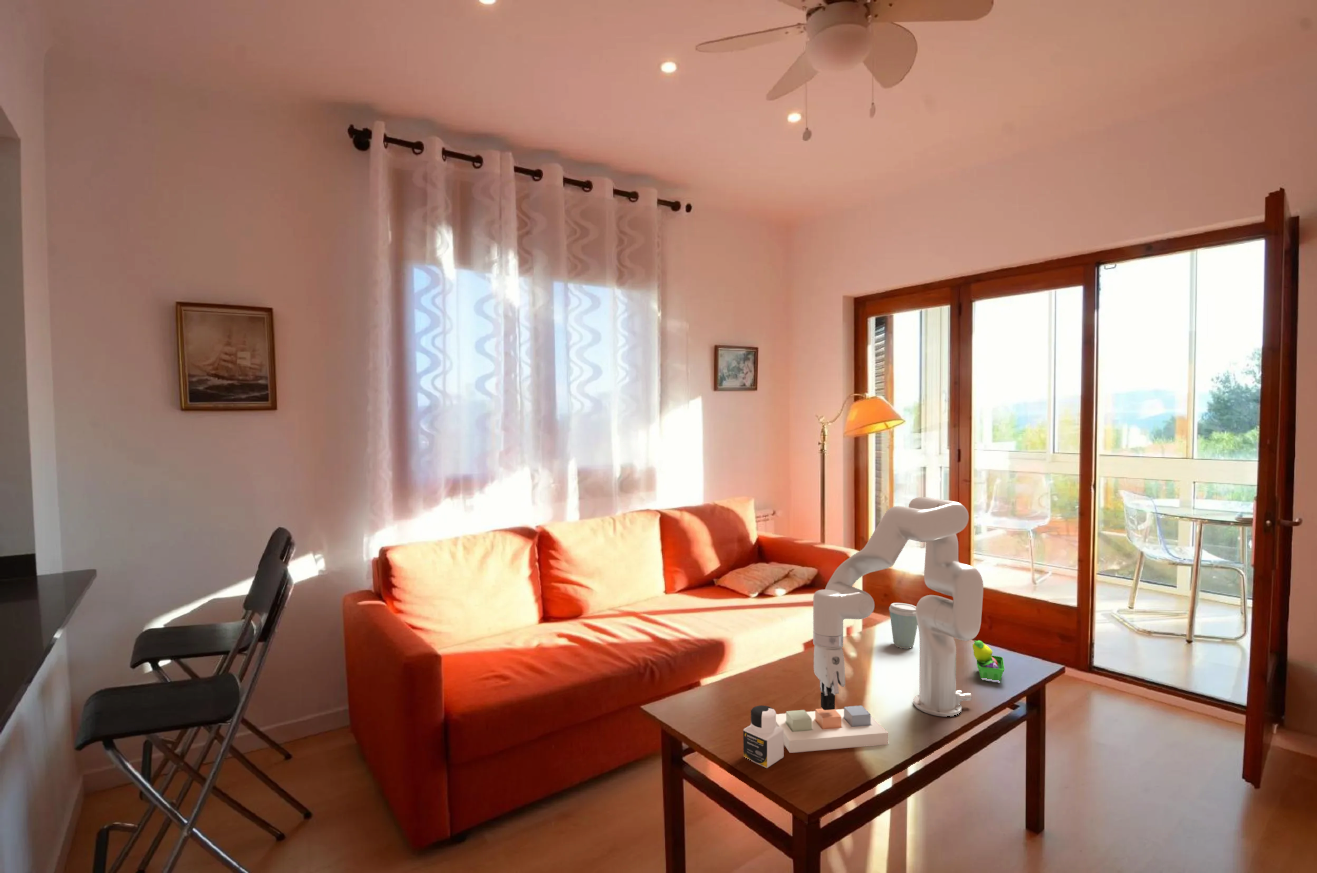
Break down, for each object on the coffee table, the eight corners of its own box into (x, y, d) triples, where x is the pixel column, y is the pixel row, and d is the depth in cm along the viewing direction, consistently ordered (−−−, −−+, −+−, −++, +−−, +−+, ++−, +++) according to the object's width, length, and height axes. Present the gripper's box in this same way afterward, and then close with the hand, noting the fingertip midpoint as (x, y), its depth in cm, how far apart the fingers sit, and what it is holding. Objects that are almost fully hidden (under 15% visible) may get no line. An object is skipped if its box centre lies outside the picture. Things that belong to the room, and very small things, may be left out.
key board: (862, 718, 173) (862, 707, 173) (888, 744, 159) (888, 732, 159) (771, 725, 170) (771, 714, 169) (789, 752, 156) (789, 740, 156)
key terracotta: (833, 722, 167) (833, 707, 167) (841, 731, 162) (841, 716, 162) (815, 724, 167) (815, 709, 166) (822, 733, 162) (822, 718, 161)
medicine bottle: (742, 757, 154) (742, 709, 153) (760, 746, 159) (760, 699, 158) (766, 769, 149) (766, 718, 148) (784, 757, 154) (784, 708, 153)
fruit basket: (1004, 686, 193) (1005, 649, 193) (972, 681, 197) (972, 645, 197) (1002, 672, 204) (1003, 637, 203) (972, 667, 207) (972, 633, 207)
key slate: (861, 720, 168) (861, 705, 168) (870, 729, 163) (870, 714, 163) (843, 721, 168) (843, 706, 168) (852, 730, 163) (852, 715, 163)
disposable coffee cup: (898, 638, 235) (898, 598, 234) (926, 646, 227) (926, 605, 226) (882, 645, 228) (883, 604, 228) (911, 654, 220) (911, 611, 219)
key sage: (804, 724, 166) (804, 709, 166) (811, 734, 161) (811, 718, 161) (786, 726, 165) (786, 711, 165) (792, 735, 160) (792, 720, 160)
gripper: (854, 648, 157) (854, 721, 157) (829, 628, 172) (829, 695, 172) (825, 650, 156) (825, 723, 156) (803, 630, 171) (803, 697, 171)
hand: (827, 708), depth 164 cm, fingers closed
